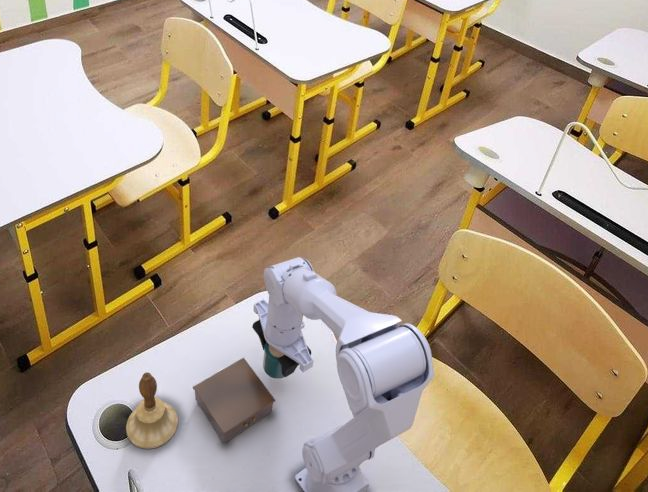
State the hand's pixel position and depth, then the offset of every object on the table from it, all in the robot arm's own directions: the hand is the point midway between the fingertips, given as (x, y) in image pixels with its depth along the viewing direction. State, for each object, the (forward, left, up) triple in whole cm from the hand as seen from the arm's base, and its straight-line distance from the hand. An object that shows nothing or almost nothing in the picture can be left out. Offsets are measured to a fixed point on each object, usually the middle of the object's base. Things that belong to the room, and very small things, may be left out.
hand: (278, 360), depth 102 cm
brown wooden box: (0, +9, -7) cm, 11 cm away
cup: (0, 0, -1) cm, 1 cm away
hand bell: (+5, +21, -7) cm, 23 cm away
